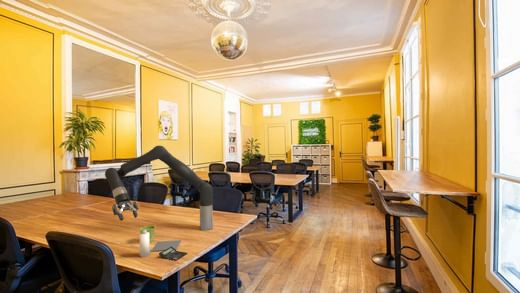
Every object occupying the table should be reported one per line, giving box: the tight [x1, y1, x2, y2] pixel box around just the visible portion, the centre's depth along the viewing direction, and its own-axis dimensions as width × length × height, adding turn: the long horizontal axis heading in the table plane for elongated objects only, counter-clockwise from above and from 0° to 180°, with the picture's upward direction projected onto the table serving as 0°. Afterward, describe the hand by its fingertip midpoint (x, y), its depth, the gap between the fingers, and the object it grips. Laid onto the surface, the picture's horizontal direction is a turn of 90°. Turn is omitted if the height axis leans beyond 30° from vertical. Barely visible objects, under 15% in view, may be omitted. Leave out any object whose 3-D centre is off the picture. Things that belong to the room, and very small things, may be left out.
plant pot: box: [139, 225, 157, 243], centre depth 154 cm, size 9×9×9 cm
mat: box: [150, 239, 182, 253], centre depth 146 cm, size 14×14×1 cm
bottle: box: [138, 230, 151, 258], centre depth 134 cm, size 5×5×14 cm
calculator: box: [158, 246, 188, 262], centre depth 133 cm, size 9×12×3 cm
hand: (129, 218), depth 145 cm, fingers open, 8 cm apart
